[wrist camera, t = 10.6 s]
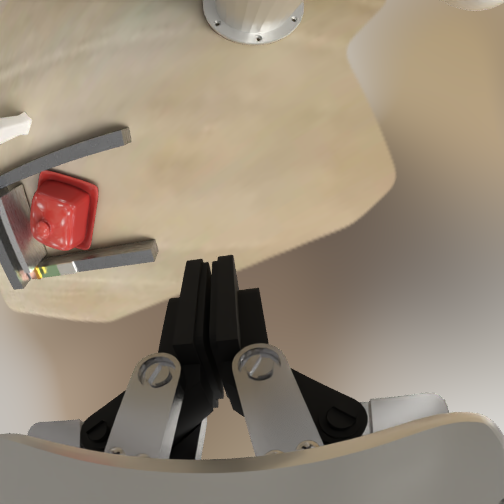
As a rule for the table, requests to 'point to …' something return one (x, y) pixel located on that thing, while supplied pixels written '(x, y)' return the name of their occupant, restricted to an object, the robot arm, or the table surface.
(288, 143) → the table surface
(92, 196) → the butter dish
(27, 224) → the brushed metal plate
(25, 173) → the grey open box
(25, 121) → the perfume bottle
